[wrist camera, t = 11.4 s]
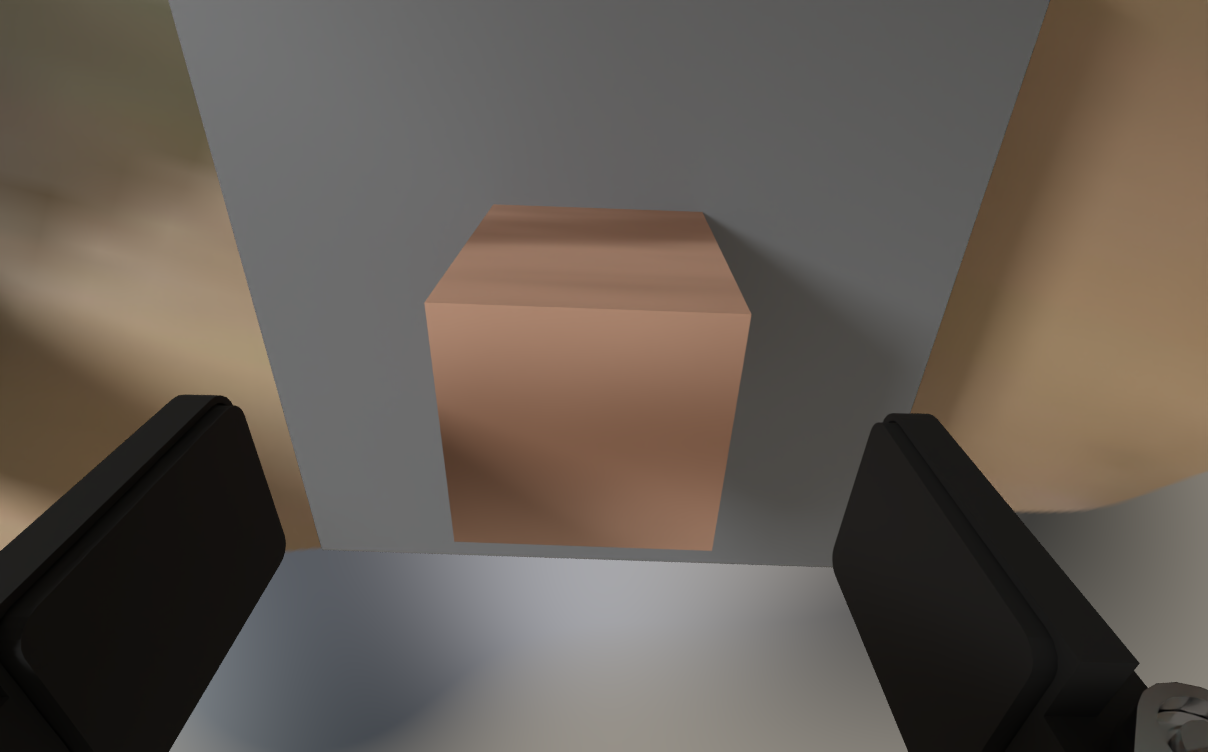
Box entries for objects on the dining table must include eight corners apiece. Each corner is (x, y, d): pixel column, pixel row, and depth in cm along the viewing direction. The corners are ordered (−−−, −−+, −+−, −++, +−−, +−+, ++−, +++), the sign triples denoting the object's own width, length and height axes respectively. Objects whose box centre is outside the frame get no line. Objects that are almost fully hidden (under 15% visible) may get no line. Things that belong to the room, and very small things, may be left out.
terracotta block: (493, 204, 14) (424, 301, 9) (702, 212, 14) (751, 314, 9) (503, 384, 17) (454, 542, 12) (682, 390, 17) (711, 550, 12)
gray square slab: (242, -105, 15) (127, -146, 11) (976, -79, 15) (1088, -113, 11) (365, 473, 24) (321, 549, 20) (822, 489, 24) (857, 568, 20)
